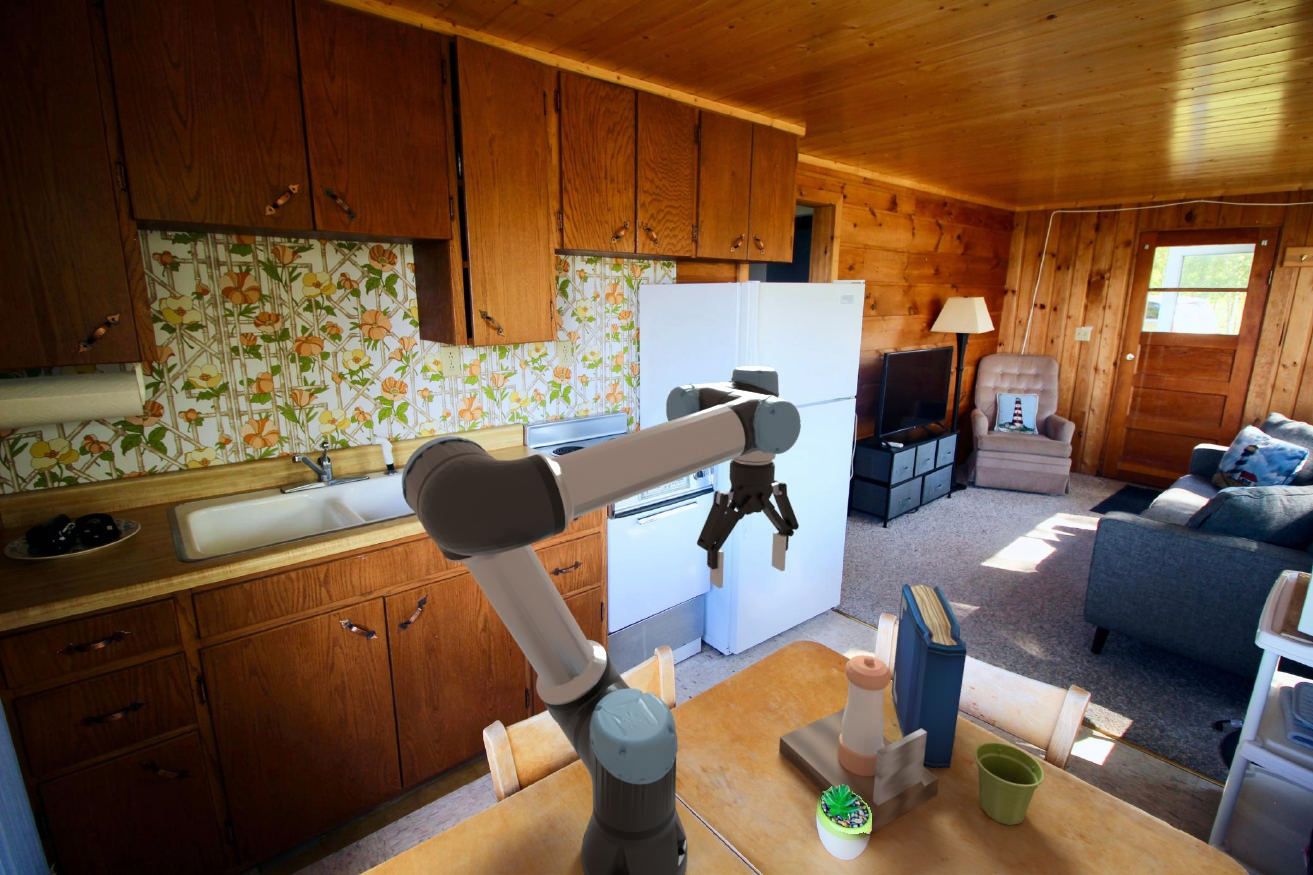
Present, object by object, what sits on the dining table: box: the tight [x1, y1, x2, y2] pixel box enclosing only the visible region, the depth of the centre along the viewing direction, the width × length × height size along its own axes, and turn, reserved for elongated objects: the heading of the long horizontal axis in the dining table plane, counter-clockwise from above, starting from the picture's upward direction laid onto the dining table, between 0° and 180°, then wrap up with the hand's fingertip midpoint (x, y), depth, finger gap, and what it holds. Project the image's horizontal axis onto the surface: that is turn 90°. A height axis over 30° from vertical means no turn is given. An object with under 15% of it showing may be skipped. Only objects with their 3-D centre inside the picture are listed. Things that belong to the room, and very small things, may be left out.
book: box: [891, 583, 968, 770], centre depth 111 cm, size 22×7×25 cm, turn 168°
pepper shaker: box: [838, 654, 892, 776], centre depth 101 cm, size 7×7×19 cm
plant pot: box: [973, 741, 1045, 826], centre depth 95 cm, size 9×9×9 cm
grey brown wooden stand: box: [778, 707, 940, 834], centre depth 103 cm, size 16×20×12 cm
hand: (748, 576), depth 108 cm, fingers open, 13 cm apart
